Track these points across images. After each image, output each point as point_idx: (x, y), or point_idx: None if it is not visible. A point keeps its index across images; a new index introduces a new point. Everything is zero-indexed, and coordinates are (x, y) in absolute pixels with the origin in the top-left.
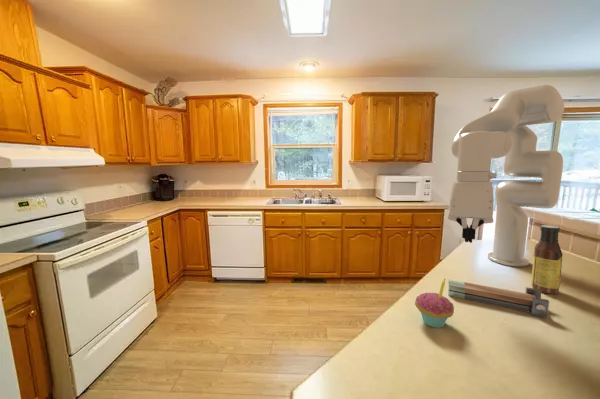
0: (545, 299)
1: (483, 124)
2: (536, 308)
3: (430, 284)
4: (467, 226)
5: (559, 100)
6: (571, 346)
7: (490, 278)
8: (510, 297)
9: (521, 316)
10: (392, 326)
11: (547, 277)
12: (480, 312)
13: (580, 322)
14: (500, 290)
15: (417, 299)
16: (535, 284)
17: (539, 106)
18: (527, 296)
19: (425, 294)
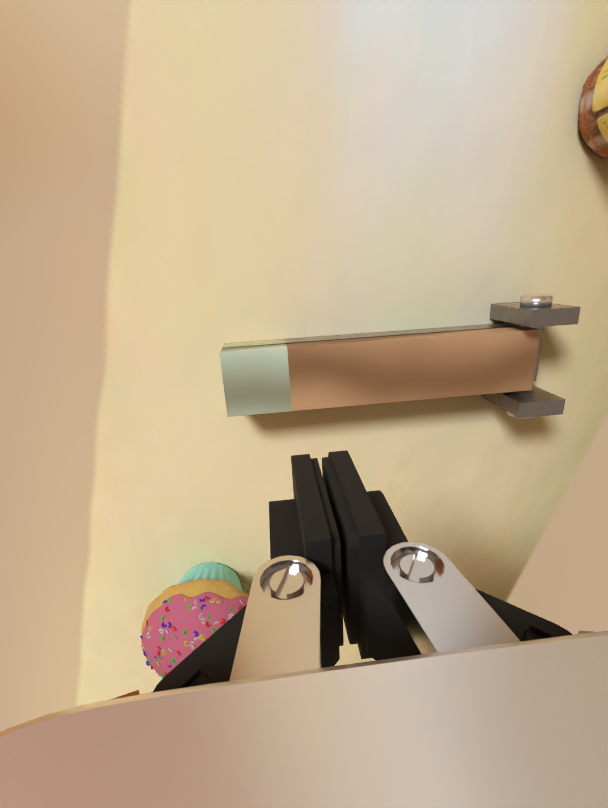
0: (558, 400)
1: None
2: (508, 414)
3: (144, 328)
4: (329, 656)
5: None
6: (519, 509)
7: (412, 71)
8: (447, 396)
9: (450, 421)
10: (119, 658)
11: None
12: None
13: (604, 366)
14: (424, 357)
15: (148, 662)
16: (598, 127)
17: None
18: (509, 361)
19: (166, 658)
